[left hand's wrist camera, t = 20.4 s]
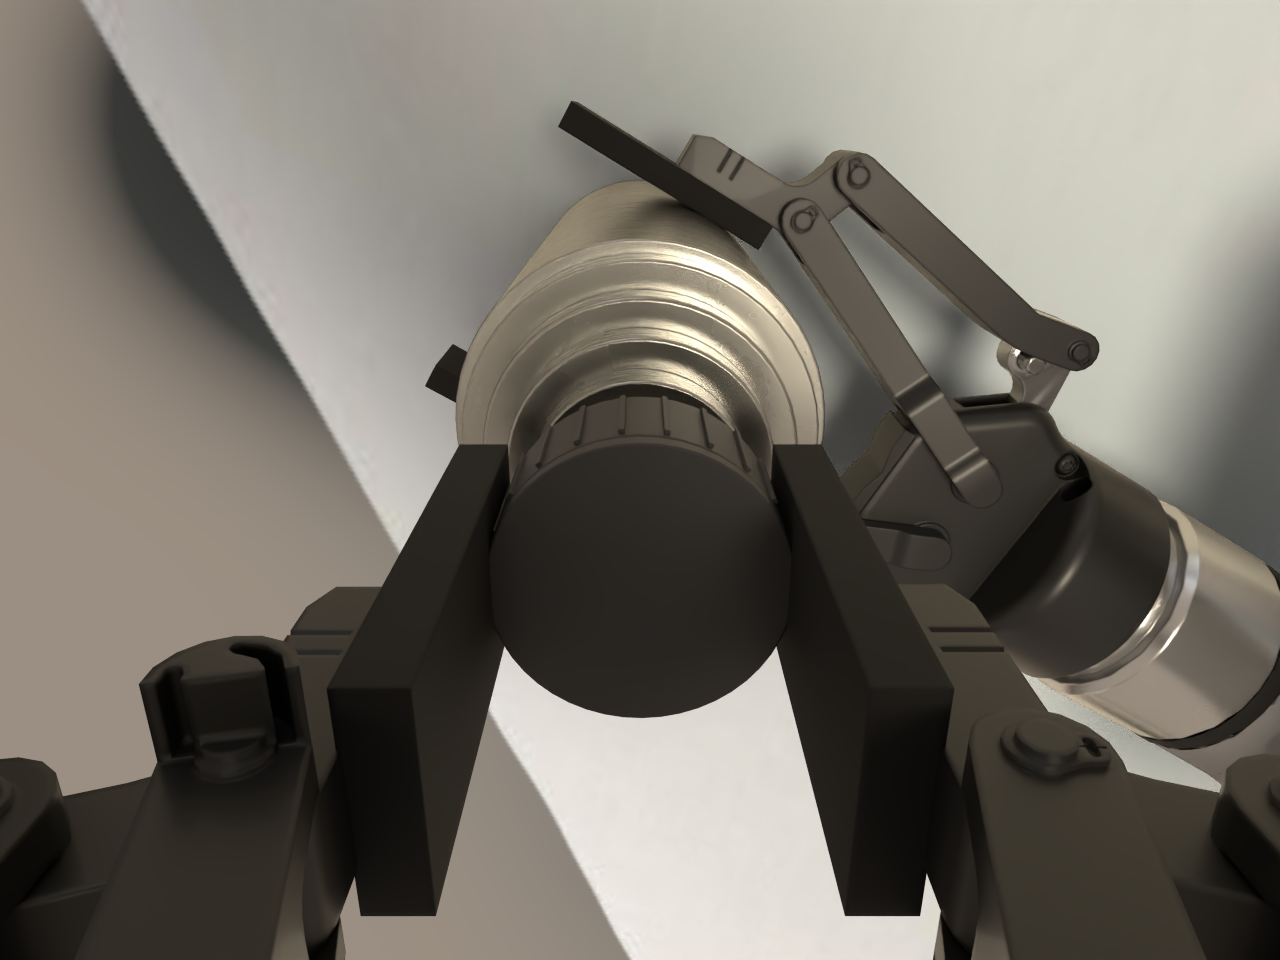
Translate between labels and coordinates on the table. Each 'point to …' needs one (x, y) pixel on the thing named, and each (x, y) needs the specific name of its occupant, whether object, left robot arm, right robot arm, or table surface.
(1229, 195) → the table surface
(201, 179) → the table surface
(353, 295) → the table surface
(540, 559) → the cap
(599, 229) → the bottle
